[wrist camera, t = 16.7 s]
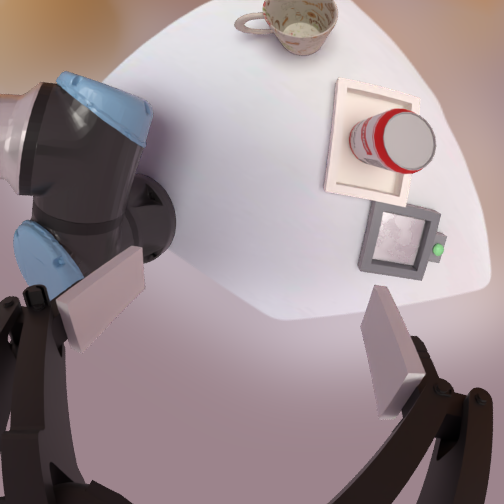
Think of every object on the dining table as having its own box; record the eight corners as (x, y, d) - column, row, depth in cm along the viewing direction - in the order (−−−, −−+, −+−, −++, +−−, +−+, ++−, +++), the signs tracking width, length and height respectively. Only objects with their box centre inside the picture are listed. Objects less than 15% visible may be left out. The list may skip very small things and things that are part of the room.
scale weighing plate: (371, 256, 40) (372, 258, 39) (381, 210, 37) (383, 211, 36) (411, 263, 39) (413, 265, 38) (423, 219, 36) (425, 221, 36)
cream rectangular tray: (323, 187, 38) (325, 191, 35) (335, 83, 32) (338, 77, 29) (397, 202, 36) (405, 207, 33) (411, 101, 31) (420, 98, 27)
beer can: (341, 153, 35) (367, 158, 21) (355, 113, 33) (389, 92, 18) (381, 171, 35) (428, 189, 20) (395, 131, 32) (449, 126, 18)
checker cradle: (357, 265, 41) (360, 271, 39) (372, 196, 37) (376, 199, 35) (428, 276, 39) (434, 283, 37) (446, 213, 35) (454, 217, 33)
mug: (333, 63, 31) (342, 39, 22) (244, 65, 33) (225, 43, 24) (328, 16, 28) (333, -16, 19) (242, 19, 30) (224, -11, 21)
